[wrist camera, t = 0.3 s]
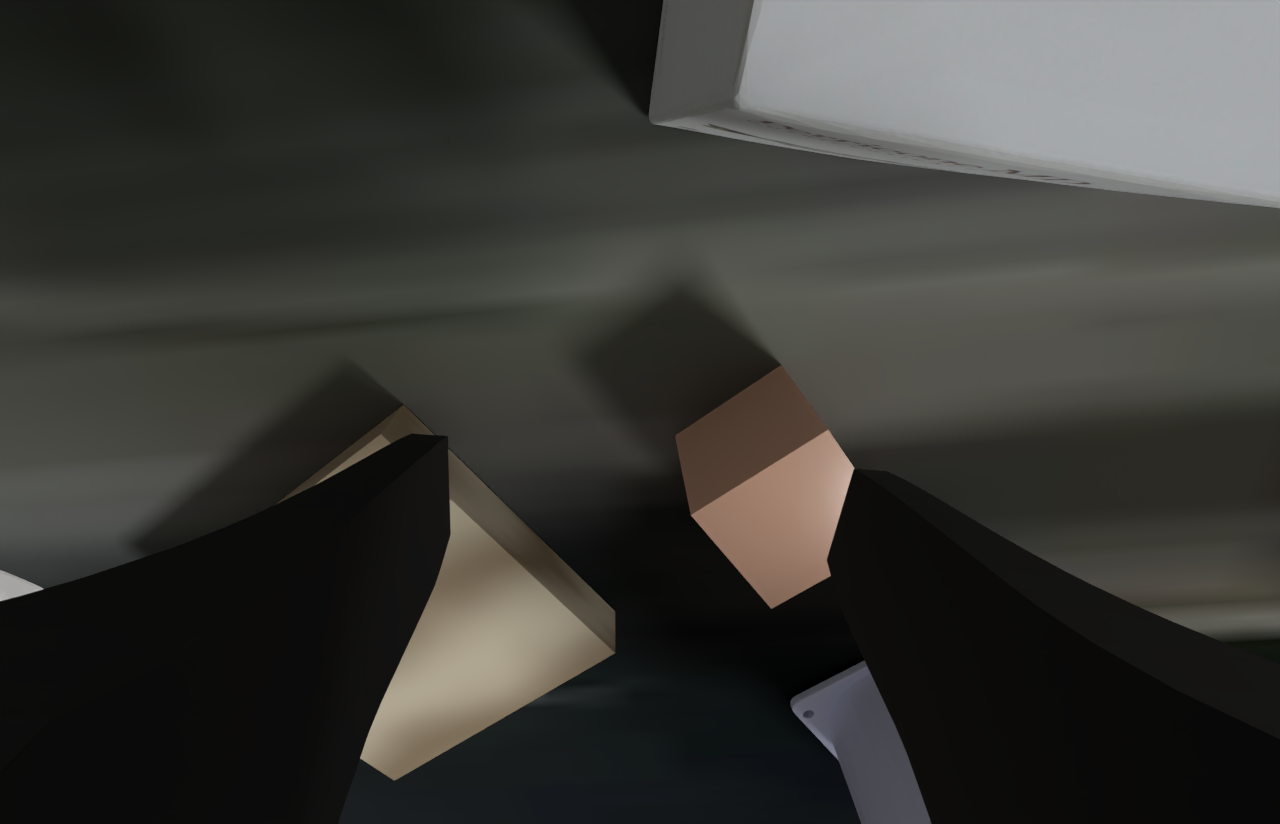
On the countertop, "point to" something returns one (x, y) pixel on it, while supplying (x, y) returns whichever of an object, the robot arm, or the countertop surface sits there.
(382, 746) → the base
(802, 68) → the supplement box
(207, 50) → the countertop surface
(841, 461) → the block
